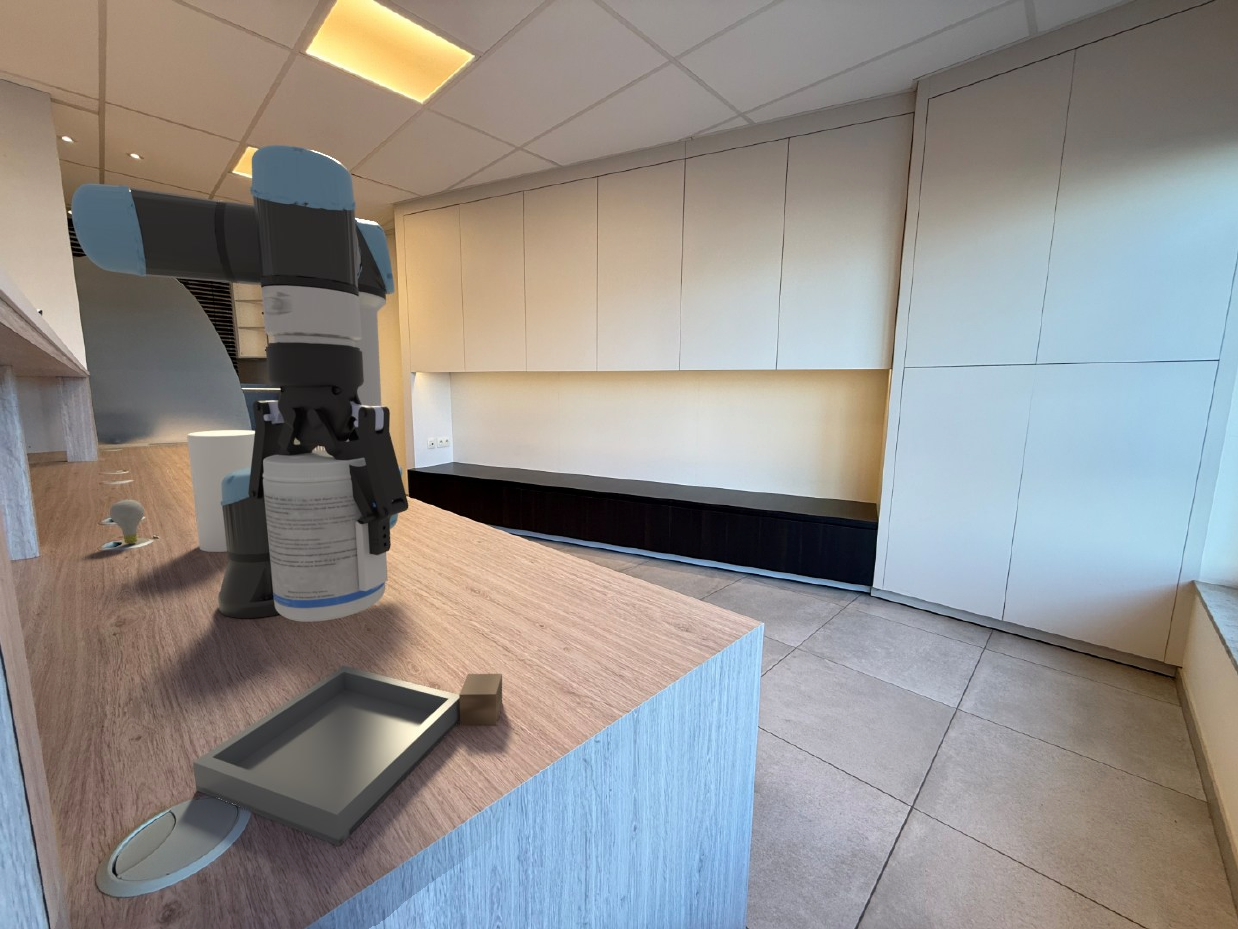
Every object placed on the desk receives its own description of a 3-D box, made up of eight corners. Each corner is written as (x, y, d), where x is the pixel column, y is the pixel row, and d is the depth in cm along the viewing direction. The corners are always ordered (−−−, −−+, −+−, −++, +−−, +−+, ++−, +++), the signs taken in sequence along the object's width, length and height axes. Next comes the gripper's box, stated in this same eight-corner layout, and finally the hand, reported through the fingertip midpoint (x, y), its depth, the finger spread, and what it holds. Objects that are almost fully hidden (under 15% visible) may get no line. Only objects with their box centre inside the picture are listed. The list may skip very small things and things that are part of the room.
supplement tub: (393, 611, 48) (386, 459, 46) (274, 636, 43) (259, 466, 41) (377, 577, 56) (370, 446, 54) (274, 594, 51) (262, 451, 49)
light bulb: (131, 548, 109) (125, 503, 108) (106, 547, 109) (100, 502, 108) (155, 540, 115) (149, 497, 113) (131, 539, 115) (125, 496, 113)
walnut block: (460, 727, 57) (459, 694, 56) (468, 704, 61) (467, 674, 60) (496, 726, 57) (495, 694, 56) (502, 704, 61) (501, 673, 60)
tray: (196, 790, 47) (192, 762, 47) (345, 688, 63) (344, 666, 63) (339, 846, 42) (337, 815, 42) (462, 719, 58) (461, 695, 58)
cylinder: (256, 550, 110) (245, 436, 106) (187, 553, 107) (174, 436, 103) (276, 533, 122) (267, 430, 118) (215, 536, 119) (204, 429, 115)
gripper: (184, 338, 46) (209, 574, 49) (384, 339, 39) (396, 612, 43) (264, 344, 53) (281, 550, 56) (445, 346, 46) (452, 580, 50)
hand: (331, 577), depth 49 cm, fingers closed on supplement tub, 10 cm apart
